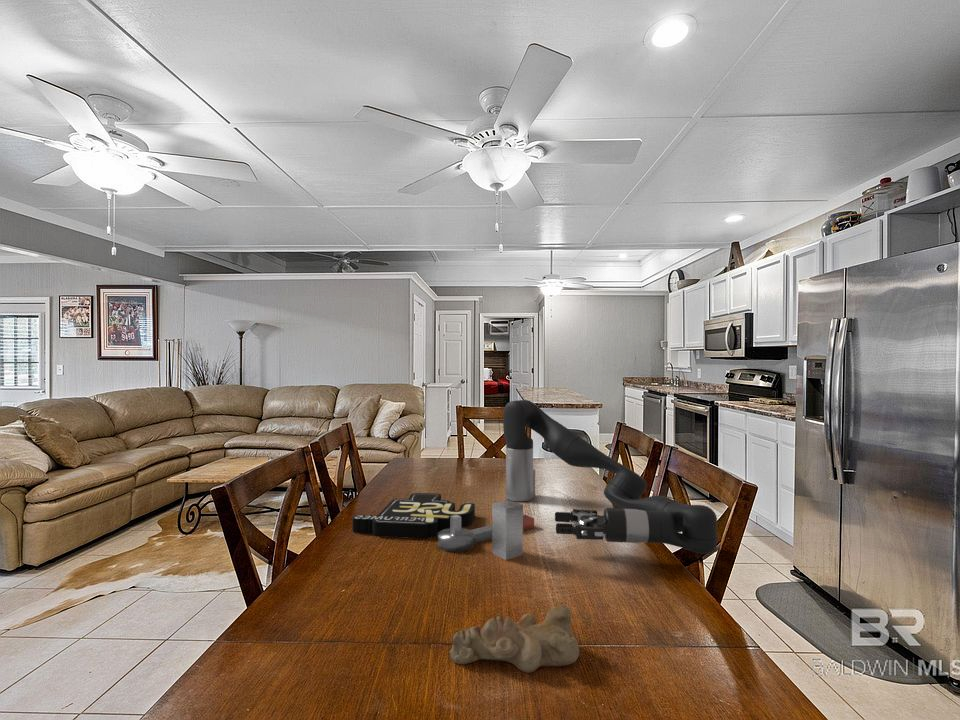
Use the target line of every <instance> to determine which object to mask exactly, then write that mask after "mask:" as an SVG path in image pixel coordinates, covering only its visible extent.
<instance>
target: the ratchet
mask: <svg viewBox="0 0 960 720" xmlns="http://www.w3.org/2000/svg"><path fill="white" fill-rule="evenodd" d="M534 528H535V517H532V516H529V515H526V514H523V532H524V531H527V530H530V529H534ZM487 540H492V524H490V525H485V526H482V527H478V528H477V527H476V528H474V529H467V528H461V516H459V515H453V516H450V528H448V529H444V530H441V531H440V532H438V534H437V547H438V549H440V550H441V551H445V552H449V553H450V552H451V553H460V552H465V551H470V550H471V549H473V547H474V544H475V543H479V542H480V543H481V542H482V541H487Z"/></svg>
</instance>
